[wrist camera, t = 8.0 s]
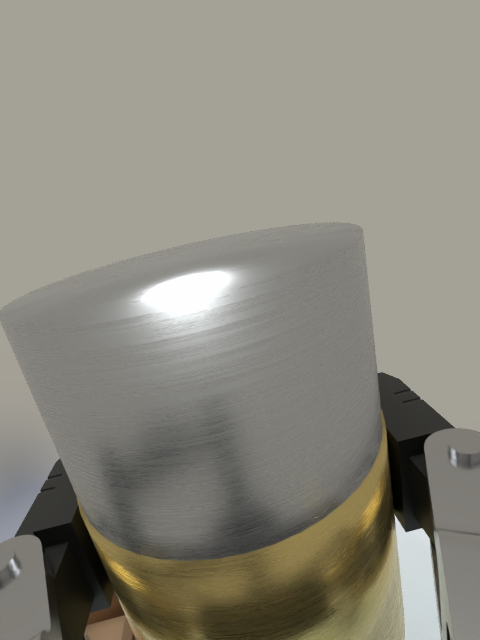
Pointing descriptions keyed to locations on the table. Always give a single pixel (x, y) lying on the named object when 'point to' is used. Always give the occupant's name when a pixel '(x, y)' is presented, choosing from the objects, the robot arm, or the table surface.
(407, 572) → the table surface
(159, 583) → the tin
